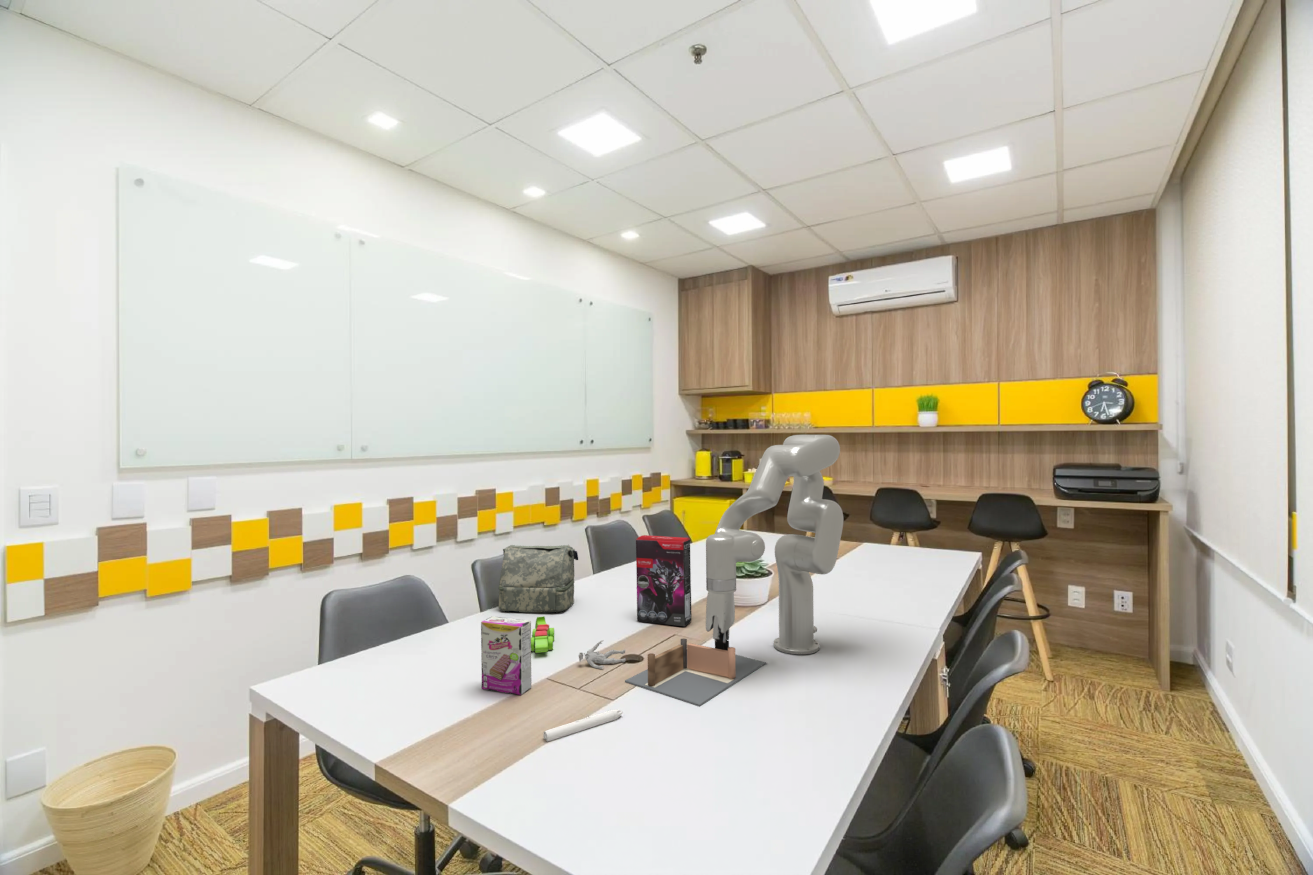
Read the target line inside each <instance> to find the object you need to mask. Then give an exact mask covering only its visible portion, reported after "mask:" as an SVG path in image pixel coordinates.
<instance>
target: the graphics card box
mask: <svg viewBox="0 0 1313 875" xmlns="http://www.w3.org/2000/svg"><path fill="white" fill-rule="evenodd" d="M635 554H636V555H635V557H636V558H635V561H636V564H635V565H636V566H635V569H636V618H637V620H636V621H637V622H641V623H650V624H660V625H669V626H676V627H686V626H688V624H690V623H691V622H692V619H693V618H692V584H691V582H692V580H691V578H692V577H691V574H692V573H691V568H692V567H691V538H690V537H682V536H681V537H679V536H663V535H648V534H647V535H645V534H644V535H642V534H641V535H640V536H638V537H637V538H636V539H635Z"/></svg>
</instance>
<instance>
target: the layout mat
mask: <svg viewBox="0 0 1313 875" xmlns="http://www.w3.org/2000/svg"><path fill="white" fill-rule="evenodd" d="M765 665H767V662H766V661H763V660H759V659H756V658H751V657H747V656H743V655H739V654H736V653H735V668H736V677H735V678H729V677H725V676H721V675H716V674H712V673H707V672H703V671H698V670H693V669H689V668H686V669H683V670H681V671H679V672H677V673H675V674H673V675H671V676H669V677H668V678H666V679H664V680H662V681H660V682H658V683H656V684H655V686H648V668H646V669H645V670H643V671H641V672H638V673H637V674H634V675H633V676H631V677H629V678H627V679H624V683H627V684H629V685H633V686H636V687H639V688H642V689H646V690H648V691H651V692H655V693H658V694H661V695H663V696H667V697H670V698H673V699H675V700H678V701H681V702H684V703H687V704H690V705H694V706H697V707H701V706H703V705H704V704H706V703H707V702H708V701H710V700H712V699H713V698H715V697H717V696H719V694H721V693H723V692H724V691H726V690H727V689H729V688H730V687H732V686H734V685H735V684H736V683H739V682H740V681H742V680H743V679H745V678H746V677H747V676H750V675H751V674H752V673H754V672H756V671H757V670H758V669H760V668H762V667H764V666H765Z"/></svg>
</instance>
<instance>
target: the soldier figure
mask: <svg viewBox="0 0 1313 875" xmlns="http://www.w3.org/2000/svg"><path fill="white" fill-rule="evenodd" d="M603 642H604V639H603V640H600V641H598V642H596V644H595V645H594V646H593V647H591V648H590V649H588V650H587V651H586V652H579V653H578V659H579V660H578V661H579V662H581V661H582V660H584V659H585V660H586V662H587V664H588V665H589V666H591V667H592V668H594V669H598V670H599V669H600V670H603V669H605V666H604V665H607V664H616V663H620V662H621V663H625V662H626V661H627V660H626V658H624V657H623V658H621V659H619V658H618V659H617V658H615V657H611V656H613V655H619V654H620V655H623V654H625V653H626V649H625V648H624V649H623V650H616V649H611V650H609V651H606V652H605V653H600V652H599V651H596V650H597V648H599V646H600V645H602V644H603ZM609 657H611V658H609ZM595 663H596V664H595ZM597 664H599V665H597Z"/></svg>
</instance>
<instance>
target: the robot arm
mask: <svg viewBox="0 0 1313 875" xmlns="http://www.w3.org/2000/svg"><path fill="white" fill-rule="evenodd" d="M840 454H841V446H840V443H839V441H838V440H837V438H835V437H834V436H832V435H830V434H793V435H791V436H788V437H787V438H785V440H784V441H783V442H782V444H775V445H770V446H769V447H767V448H766V450H764V453H763V455H762V456H761V458H760V462H759V464H758V466H757V468H756V471H755V473H754V475H753V477H752V480H751V482H750V485H749V487H748V489H747V491H746V492H745V493H743V494H742V495H741V496H739V498H737V499H736V500H735V501H734V502H732V504H731V505H729V507H728V508H726V510H725V511H724V512H723V514H722V516H721V518H720V520H719V523H718V525H717V527H716V530H715V532H714V534H710V535H708V537H706V539H705V569H706V570H705V572H706V573H705V574H706V575H705V576H706V580H705V582H706V584H705V585H706V588H705V589H706V591H707V596H706V609H705V631H707V632H711V631H712V639H714V648H716V649H721V650H727V651H728V648H729V647H730V641H729V640H730V628H731V627H732V626H733V625H734V624H735V621H736V620H735V619H736V618H735V617H736V615H735V614H736V608H735V607H736V606H735V592H736V591H737V563H753V562H756V561H757V560H759V559H760V558H762V556H763V555H764V553H765V550H766V543H765V540H764V539H763V538H762V536H760V535H759V534H757V533H755V532H751V531H745V530H740V529H741V528H742V526H743V524H744V523H746V521H748V520H749V519H750V518H751V517H753V516H755V515H756V514H760V513H762V512H764V511H767V510H769V509H771V508H774V507H775V506H777V504H778V502H779V500H780V498H781V495H782V492H783V491H784V487H785V485H786V484H787V481H788V479H789V477H793V482H792V483H793V484H792V490H791V493H790V494H791V495H790V501H789V504H788V511H787V516H786V517H787V518H786V519H787V523H788V525H789V526H790V527H791V528H792V529H794V530H797V531H800V532H802V531H803V532H808V533H814V534H815V535H814V537H812V536H806V535H802V534H801V535H800V534H791V533H790V534H789V533H788V534H785V535H782V536H781V537H779V538H778V540H776V543H775V545H774V558H775V563H776V568H777V575H778V577H777V578H778V637H777V638H775V639H774V640H773V647H774V649H776V650H778V651H779V652H782V653H786V654H790V655H811V654H814V653H817V652H818V651H819V650H820V648H821V647H820V643H819V642H818V641H817V640H816V639H814V638H815V636H814V635H815V633H817V632H818V628H817V626H815V625H814V583H813V579H812V577H811V574H816V575H827V574H829V573H831V572H832V571H833V569H834V568H835V565H836V562H837V560H838V554H839V550H840V543H841V540H842V538H841V537H842V535H843V534H842V533H843V527H844V514H843V513H844V512H843V509H842V507H841V506H840V505H839V503H837V502H836V501H834V500H831V499H823V493H824V485H825V482H824V481H825V480H824V477H823V474H822V472H821V471H822V470H824V469H827V468H829V467H831V466H833V465H834V464H835V463H836V462H837V460H838V459H839V458H840ZM810 573H811V574H810Z"/></svg>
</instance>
